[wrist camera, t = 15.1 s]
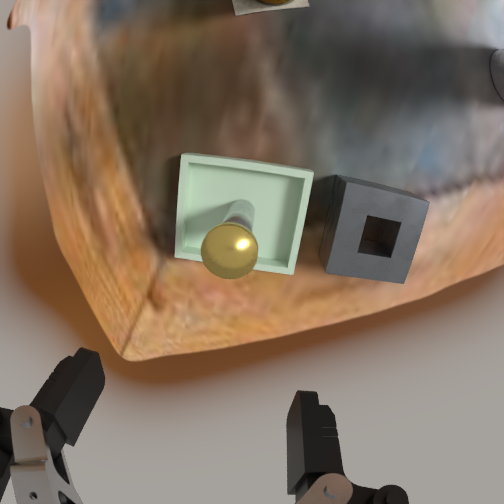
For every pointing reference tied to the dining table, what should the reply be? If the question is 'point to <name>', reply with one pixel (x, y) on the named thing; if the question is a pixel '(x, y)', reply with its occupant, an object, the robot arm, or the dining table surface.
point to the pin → (232, 243)
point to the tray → (248, 188)
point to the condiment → (265, 5)
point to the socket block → (390, 236)
